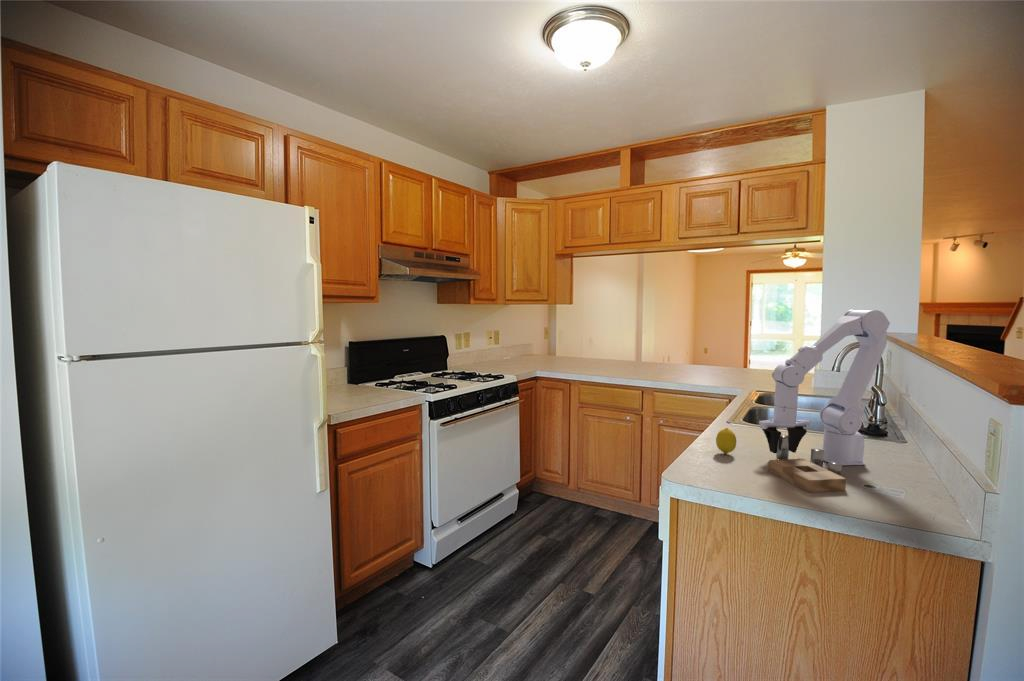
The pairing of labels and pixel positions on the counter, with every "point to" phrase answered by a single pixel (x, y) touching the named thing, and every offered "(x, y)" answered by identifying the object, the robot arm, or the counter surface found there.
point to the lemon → (726, 440)
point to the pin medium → (817, 456)
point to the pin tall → (783, 447)
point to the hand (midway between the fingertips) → (782, 451)
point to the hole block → (808, 475)
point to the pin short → (835, 467)
